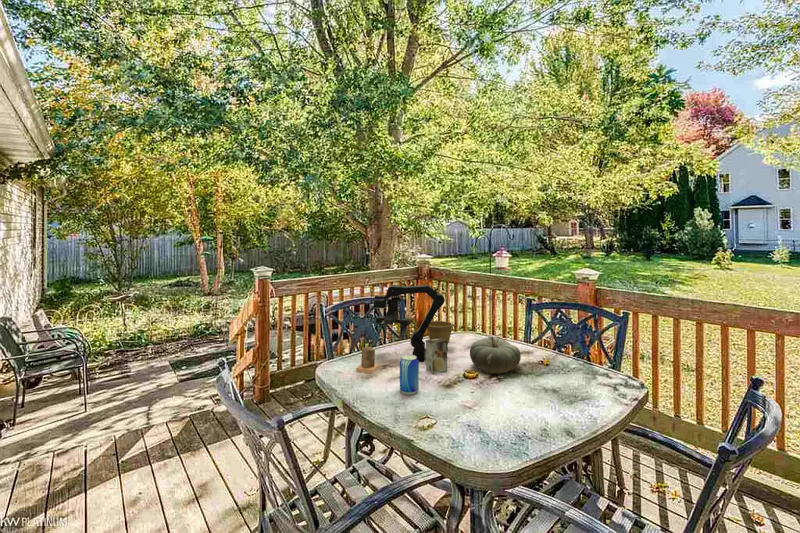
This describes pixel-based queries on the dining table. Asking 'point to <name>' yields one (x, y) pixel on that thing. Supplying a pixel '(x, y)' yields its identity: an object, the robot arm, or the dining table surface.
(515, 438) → the dining table surface
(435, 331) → the plant pot
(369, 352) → the walnut block
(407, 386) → the beer can
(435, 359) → the coffee box
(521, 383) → the dining table surface
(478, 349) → the gourd
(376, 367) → the terracotta tile
